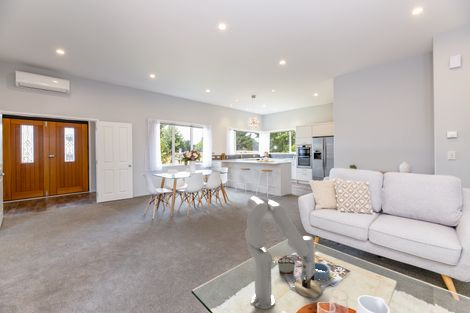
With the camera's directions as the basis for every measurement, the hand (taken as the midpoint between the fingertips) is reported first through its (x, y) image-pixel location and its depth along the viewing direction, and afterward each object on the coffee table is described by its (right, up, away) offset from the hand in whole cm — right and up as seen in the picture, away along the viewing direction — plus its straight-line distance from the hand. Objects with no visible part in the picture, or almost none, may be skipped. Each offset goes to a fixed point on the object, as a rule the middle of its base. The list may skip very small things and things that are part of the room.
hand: (308, 283), depth 131 cm
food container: (-10, -3, +18) cm, 20 cm away
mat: (0, -4, 0) cm, 4 cm away
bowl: (+12, -3, +13) cm, 18 cm away
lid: (0, -3, 0) cm, 3 cm away
